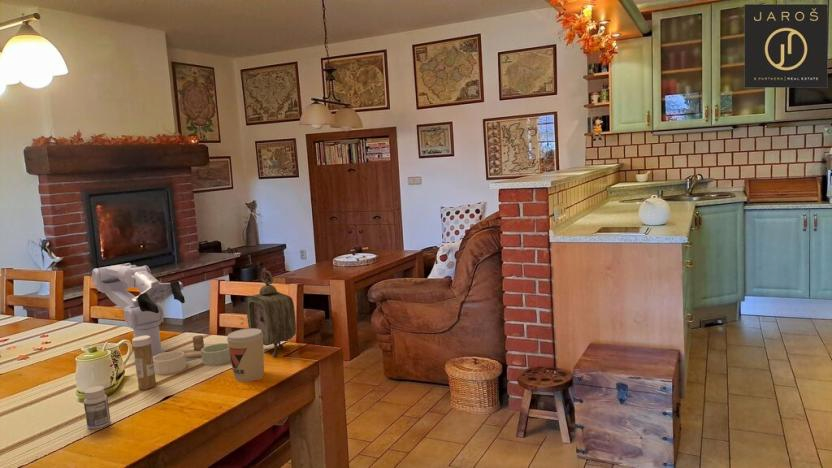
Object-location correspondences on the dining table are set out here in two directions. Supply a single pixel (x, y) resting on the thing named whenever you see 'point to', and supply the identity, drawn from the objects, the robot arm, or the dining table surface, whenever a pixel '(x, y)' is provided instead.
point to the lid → (195, 347)
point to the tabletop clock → (271, 314)
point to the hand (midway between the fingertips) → (170, 304)
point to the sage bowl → (215, 354)
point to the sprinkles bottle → (144, 362)
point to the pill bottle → (96, 407)
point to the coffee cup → (246, 354)
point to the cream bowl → (169, 362)
